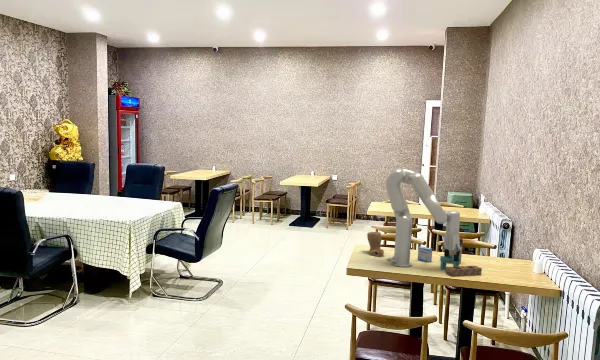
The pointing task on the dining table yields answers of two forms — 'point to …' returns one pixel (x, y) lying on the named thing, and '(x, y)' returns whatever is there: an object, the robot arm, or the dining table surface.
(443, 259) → the clip
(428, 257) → the medicine box
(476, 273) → the brown wooden candle holder
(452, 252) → the coffee box
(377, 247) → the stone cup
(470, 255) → the dining table surface
